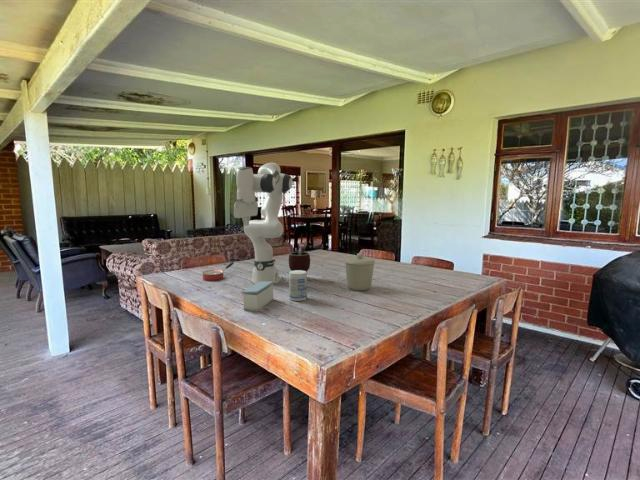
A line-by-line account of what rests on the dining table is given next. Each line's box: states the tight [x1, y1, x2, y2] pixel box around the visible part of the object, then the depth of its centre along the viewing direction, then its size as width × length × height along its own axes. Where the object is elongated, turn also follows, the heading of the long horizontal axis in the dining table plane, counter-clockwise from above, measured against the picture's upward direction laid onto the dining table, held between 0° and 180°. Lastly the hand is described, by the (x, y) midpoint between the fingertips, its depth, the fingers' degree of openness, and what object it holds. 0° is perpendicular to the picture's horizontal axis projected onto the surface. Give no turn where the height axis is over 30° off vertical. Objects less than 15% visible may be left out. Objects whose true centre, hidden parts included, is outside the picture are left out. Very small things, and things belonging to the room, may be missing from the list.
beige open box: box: [242, 284, 274, 312], centre depth 182 cm, size 20×7×8 cm, turn 164°
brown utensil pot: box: [288, 246, 311, 282], centre depth 233 cm, size 16×14×20 cm
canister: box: [343, 252, 376, 292], centre depth 211 cm, size 18×18×21 cm
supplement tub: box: [288, 270, 308, 302], centre depth 191 cm, size 10×10×15 cm
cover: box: [240, 281, 275, 295], centre depth 182 cm, size 20×9×1 cm, turn 165°
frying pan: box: [202, 261, 234, 282], centre depth 244 cm, size 32×13×6 cm, turn 169°
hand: (246, 225), depth 187 cm, fingers closed
